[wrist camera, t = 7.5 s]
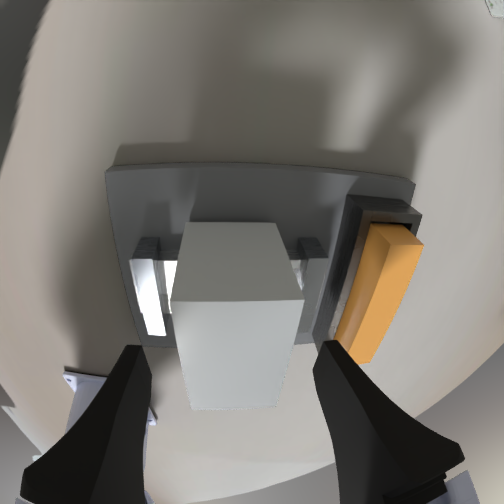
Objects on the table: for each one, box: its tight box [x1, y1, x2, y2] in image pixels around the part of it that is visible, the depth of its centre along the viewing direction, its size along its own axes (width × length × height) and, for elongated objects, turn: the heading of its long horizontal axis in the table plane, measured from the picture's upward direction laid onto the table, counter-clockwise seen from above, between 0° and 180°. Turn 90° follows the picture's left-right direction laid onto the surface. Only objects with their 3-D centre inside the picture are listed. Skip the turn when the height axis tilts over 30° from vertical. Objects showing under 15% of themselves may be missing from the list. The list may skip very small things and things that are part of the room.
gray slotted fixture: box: [129, 194, 422, 354], centre depth 15 cm, size 10×14×2 cm
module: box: [169, 222, 305, 410], centre depth 13 cm, size 7×4×6 cm, turn 176°
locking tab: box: [333, 223, 424, 365], centre depth 14 cm, size 8×2×2 cm, turn 176°
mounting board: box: [105, 162, 416, 348], centre depth 16 cm, size 12×16×1 cm
